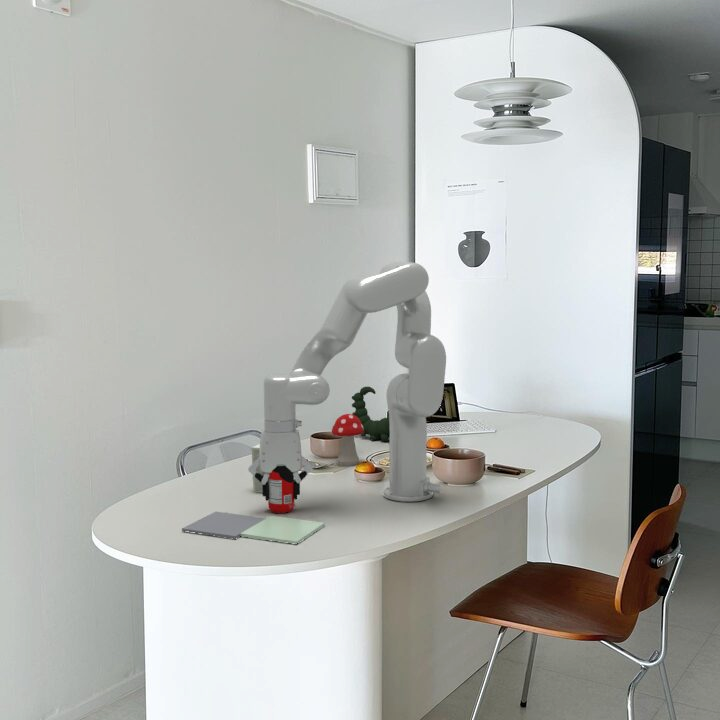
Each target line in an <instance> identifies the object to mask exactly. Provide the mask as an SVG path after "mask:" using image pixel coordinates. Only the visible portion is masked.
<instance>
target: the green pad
mask: <svg viewBox="0 0 720 720" xmlns="http://www.w3.org/2000/svg"><path fill="white" fill-rule="evenodd" d="M265 518H266V519H265V520H263V521H261V522H259V523H258V524H256V525H254V526H252V527H251V528H249V529H247V530H245V531H244V532H242V533H240V536H241V537H240V538H244V537H248V538H247V539H251V538H255V539H254V540H258V539H263V540H262V541H265V540H272V541H280V542H288V543H295V544H297V543H299V542H300V541H302V540H303V539H305V538H306V539H308V538H309V537H311V536H312V535H314V534H315V533H317V532H318V531H319V529H320V528H321V529H322V527H323V526H324V527H325V525H326V523H325V522H320V521H313V520H305V519H298V518H289V517H282V516H276V515H275V516H274V515H270V516H269V517H265ZM324 527H323V528H324ZM321 529H320V530H321ZM317 530H318V531H317ZM316 531H317V532H316ZM314 532H315V533H314ZM313 533H314V534H313ZM311 534H312V535H311ZM310 535H311V536H310ZM308 536H309V537H308ZM307 537H308V538H307ZM306 539H305V540H306ZM272 541H271V542H272ZM303 541H304V540H303ZM303 541H302V542H303ZM299 544H300V543H299Z"/></svg>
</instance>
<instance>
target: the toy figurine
mask: <svg viewBox="0 0 720 720" xmlns="http://www.w3.org/2000/svg"><path fill="white" fill-rule="evenodd" d="M369 393H372V394H374V395H376V390H375V389H374V388H373V387H371V386H363V387H362V388H360V391H359V392H356V393H354V395H352V396H351V399H352V400H354V402H353V403H352V404H351V408H354V409H355V411H352V413H351V414H352V415H355V416H356V417H358V418H359V420H360V421H361V423H362V425H363V428H364V433H362V434H360V436H361V437H363V438H364V437H367V435H369V436H370V438H369V439H370V440H371V442H374V441H376V440H378V439H381V440H382V442H387V441H388V440H389V439H390V424H389V414H388V415H387V417H384V418H383V417H382V418H381V419H380V420H373V419H371V416H370V415H368V412H369V411H368V409H367V408H366V401H365V400H364V396H366V395H367V394H369Z"/></svg>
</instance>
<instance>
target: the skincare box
mask: <svg viewBox="0 0 720 720" xmlns="http://www.w3.org/2000/svg"><path fill="white" fill-rule="evenodd" d="M259 453H260V443H258V444H255V445H254V446H251V465H252V464H253V463H254V462H255V461H256V460H257V459H258V458H259ZM256 470H257V471H258V472H259V473H260V474H261V475H263V472H261V470H260V465H259V466H258V467H257V468H256ZM267 482H268V480H267ZM252 486H253V487H252V488H253V491H252V492H254V493H260V494H261V493H262V494H263V492H262V483H261V482H260V481H259V480H258V479H256V478H255V476H254V475H252Z"/></svg>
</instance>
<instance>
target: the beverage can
mask: <svg viewBox="0 0 720 720" xmlns="http://www.w3.org/2000/svg"><path fill="white" fill-rule="evenodd" d="M294 479H295V478H294V476H293V473H292V472H291V470H290V469H288V468H287V467H286V465H276V468H275V469H273V470H272V472H271V473H270V474H269V477H268V489H269V500H268V501H267V506H268V508H269V510H270V512H272V513H274V514H287V513H286V512H288V513H290V512H291V511H292V510H293V509H294V508H295V499H294Z"/></svg>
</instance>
